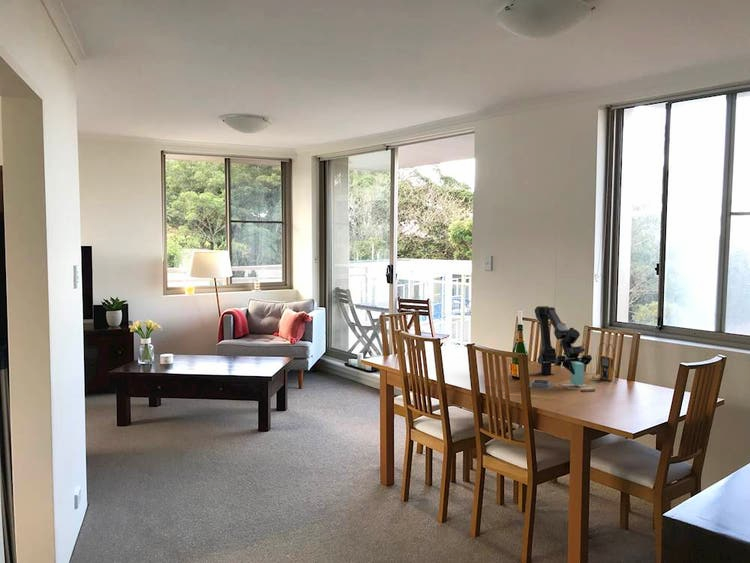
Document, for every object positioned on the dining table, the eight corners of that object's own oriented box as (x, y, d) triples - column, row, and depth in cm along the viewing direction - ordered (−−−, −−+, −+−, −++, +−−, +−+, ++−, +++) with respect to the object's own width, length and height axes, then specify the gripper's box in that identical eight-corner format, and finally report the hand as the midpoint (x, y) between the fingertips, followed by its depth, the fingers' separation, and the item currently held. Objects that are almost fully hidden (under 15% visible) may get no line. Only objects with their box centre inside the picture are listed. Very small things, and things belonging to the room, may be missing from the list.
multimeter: (584, 377, 329) (585, 342, 327) (598, 376, 333) (599, 341, 331) (604, 383, 315) (605, 346, 314) (618, 382, 319) (619, 345, 318)
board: (559, 386, 310) (559, 383, 310) (582, 385, 312) (582, 382, 312) (571, 392, 297) (571, 389, 297) (595, 391, 299) (595, 388, 299)
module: (570, 382, 306) (571, 362, 306) (578, 382, 307) (579, 361, 306) (575, 385, 302) (575, 364, 301) (583, 384, 302) (584, 363, 301)
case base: (531, 383, 316) (531, 377, 315) (552, 385, 312) (552, 379, 311) (528, 389, 302) (528, 383, 302) (550, 391, 299) (550, 385, 298)
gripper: (557, 340, 305) (567, 366, 295) (590, 339, 308) (601, 364, 298) (550, 352, 314) (559, 377, 304) (582, 351, 316) (592, 376, 306)
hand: (578, 373), depth 303 cm, fingers closed on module, 4 cm apart
